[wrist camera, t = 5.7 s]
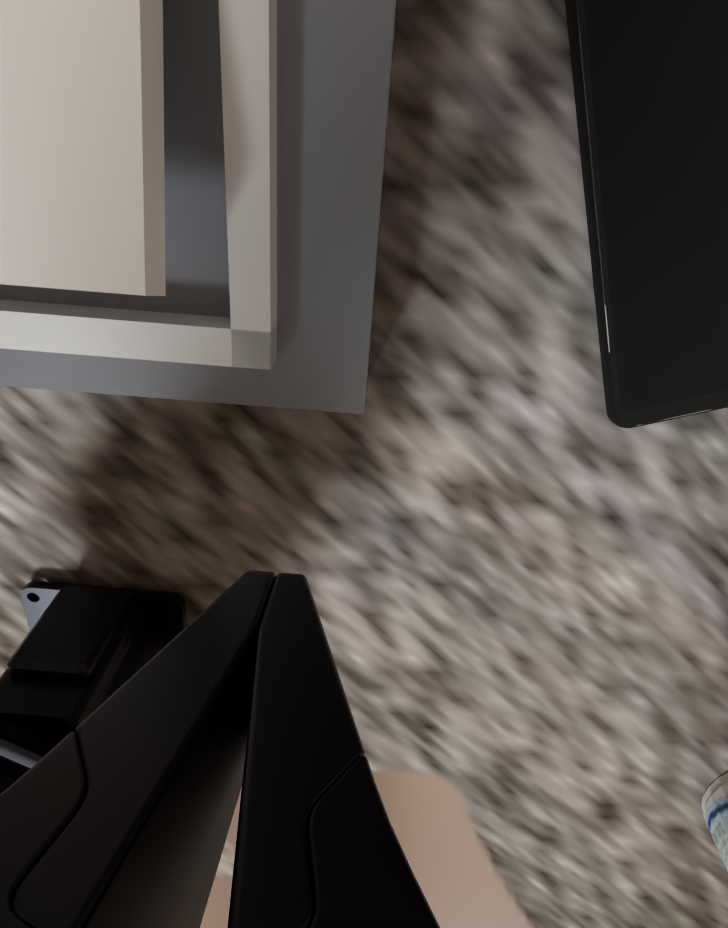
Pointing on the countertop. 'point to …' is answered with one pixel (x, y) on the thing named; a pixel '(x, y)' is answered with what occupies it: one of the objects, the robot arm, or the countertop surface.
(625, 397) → the smartphone
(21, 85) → the rocker switch
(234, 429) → the countertop surface
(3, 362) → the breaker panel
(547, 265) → the countertop surface
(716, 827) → the spray can
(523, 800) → the countertop surface
